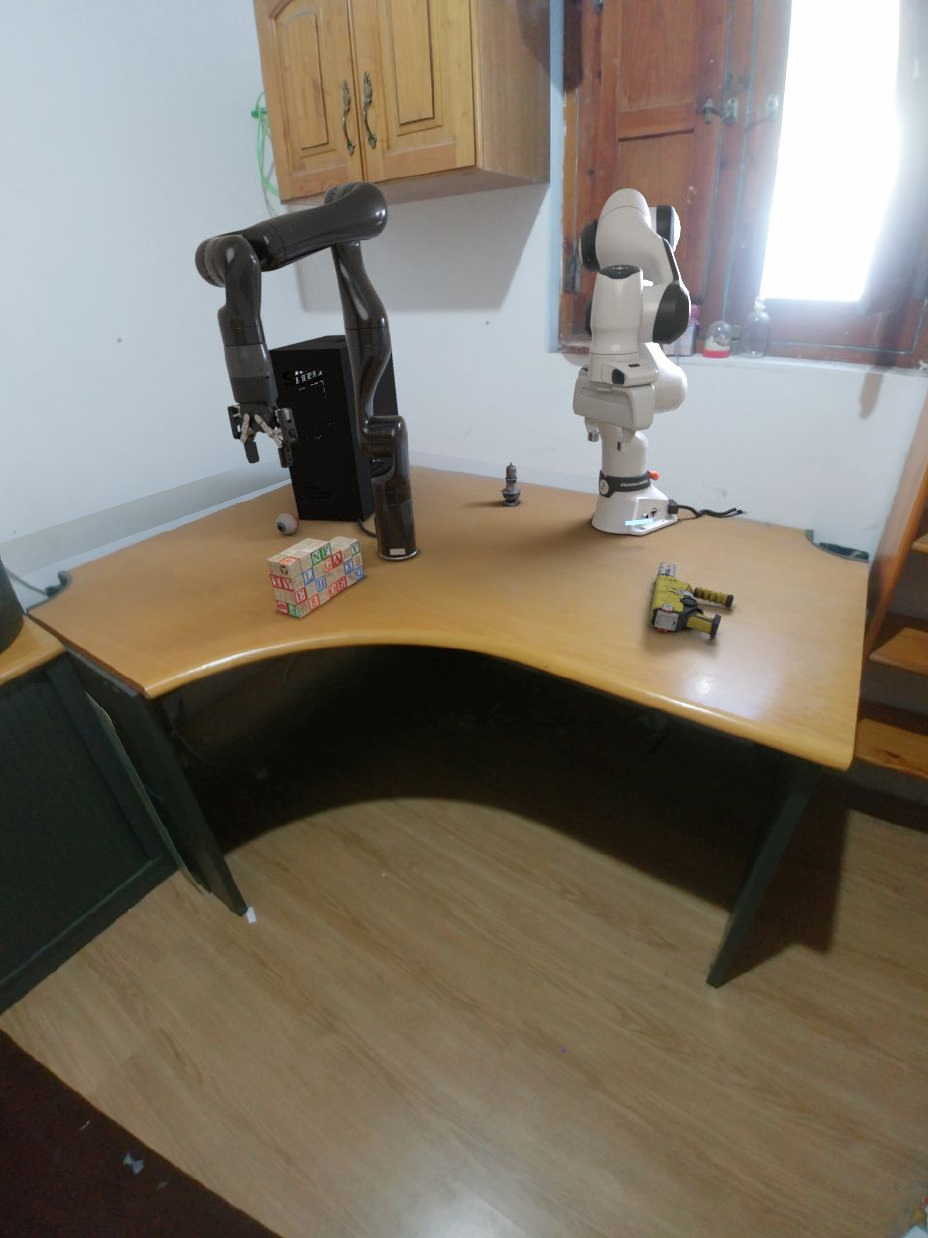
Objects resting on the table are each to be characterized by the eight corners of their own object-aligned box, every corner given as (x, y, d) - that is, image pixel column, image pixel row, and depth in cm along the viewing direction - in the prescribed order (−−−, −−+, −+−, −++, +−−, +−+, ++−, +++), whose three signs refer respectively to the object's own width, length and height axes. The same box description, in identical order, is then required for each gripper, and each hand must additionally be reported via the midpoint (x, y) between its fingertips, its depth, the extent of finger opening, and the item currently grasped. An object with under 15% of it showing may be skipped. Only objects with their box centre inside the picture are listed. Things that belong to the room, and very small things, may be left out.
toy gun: (734, 572, 125) (660, 559, 129) (740, 625, 105) (652, 607, 109) (728, 592, 127) (655, 579, 131) (733, 648, 107) (647, 630, 111)
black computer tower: (364, 521, 170) (339, 348, 148) (298, 518, 175) (265, 350, 152) (405, 480, 202) (390, 332, 180) (349, 479, 207) (327, 335, 184)
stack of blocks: (344, 571, 142) (336, 522, 136) (365, 576, 139) (357, 526, 133) (278, 612, 127) (265, 558, 120) (300, 618, 124) (288, 564, 118)
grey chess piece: (520, 506, 175) (520, 465, 169) (500, 505, 176) (499, 465, 170) (522, 499, 180) (522, 459, 174) (503, 499, 181) (502, 459, 175)
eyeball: (273, 537, 164) (268, 516, 161) (287, 528, 169) (282, 508, 166) (291, 539, 161) (286, 518, 158) (305, 530, 166) (301, 510, 163)
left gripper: (205, 374, 105) (228, 466, 113) (264, 376, 99) (284, 474, 107) (239, 367, 111) (258, 456, 119) (296, 369, 104) (313, 463, 112)
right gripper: (566, 365, 116) (563, 437, 123) (634, 377, 100) (627, 460, 107) (593, 361, 118) (589, 433, 125) (664, 373, 102) (655, 454, 109)
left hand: (270, 464), depth 113 cm, fingers open, 8 cm apart
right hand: (607, 445), depth 116 cm, fingers open, 8 cm apart
